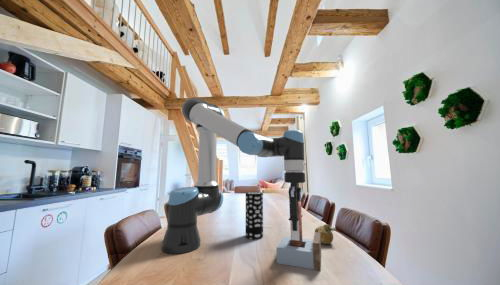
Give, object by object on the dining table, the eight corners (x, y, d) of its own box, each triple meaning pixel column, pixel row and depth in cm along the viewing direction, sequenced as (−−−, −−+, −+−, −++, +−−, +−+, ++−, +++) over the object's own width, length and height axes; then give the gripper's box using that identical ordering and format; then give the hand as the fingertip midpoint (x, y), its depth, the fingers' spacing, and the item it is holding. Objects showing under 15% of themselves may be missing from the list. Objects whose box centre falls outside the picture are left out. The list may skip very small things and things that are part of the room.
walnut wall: (313, 269, 63) (312, 242, 64) (315, 254, 74) (314, 231, 75) (320, 270, 62) (319, 243, 63) (321, 255, 74) (320, 232, 75)
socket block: (276, 263, 67) (276, 247, 68) (283, 249, 79) (283, 236, 79) (313, 269, 63) (313, 252, 64) (315, 254, 74) (315, 240, 75)
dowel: (290, 249, 70) (289, 202, 72) (292, 245, 74) (290, 200, 76) (302, 251, 69) (300, 203, 71) (303, 247, 72) (301, 201, 75)
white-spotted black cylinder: (265, 235, 96) (265, 192, 99) (259, 240, 89) (258, 194, 91) (250, 232, 100) (250, 191, 102) (242, 238, 92) (242, 193, 95)
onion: (325, 239, 91) (324, 220, 92) (338, 245, 84) (337, 225, 85) (311, 240, 89) (310, 222, 90) (323, 247, 81) (322, 226, 82)
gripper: (302, 172, 66) (304, 247, 63) (306, 171, 81) (309, 232, 78) (279, 172, 68) (281, 244, 65) (288, 171, 84) (289, 230, 81)
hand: (296, 237), depth 72 cm, fingers closed on dowel, 4 cm apart
